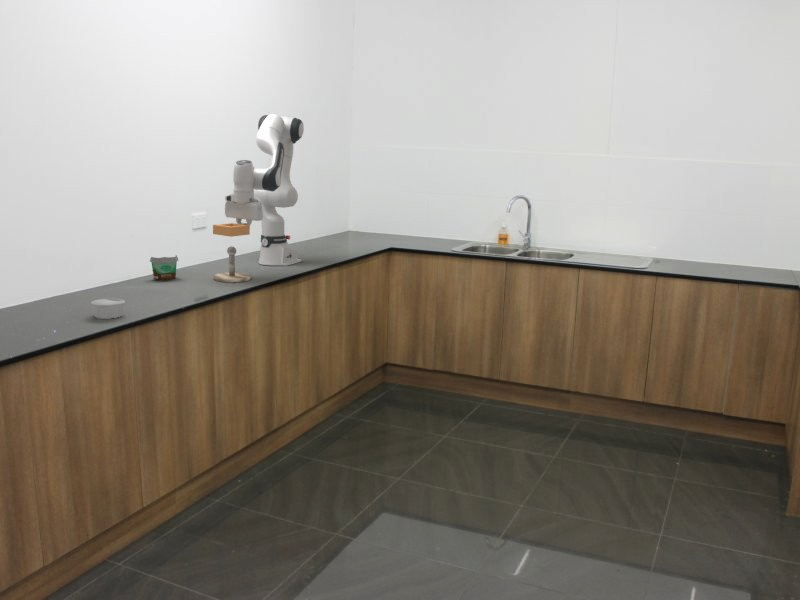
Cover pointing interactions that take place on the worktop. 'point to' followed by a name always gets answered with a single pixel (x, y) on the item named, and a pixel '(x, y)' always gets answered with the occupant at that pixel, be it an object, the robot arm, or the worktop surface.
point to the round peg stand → (232, 270)
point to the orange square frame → (231, 229)
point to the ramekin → (108, 308)
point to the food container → (164, 268)
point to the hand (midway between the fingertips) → (244, 229)
